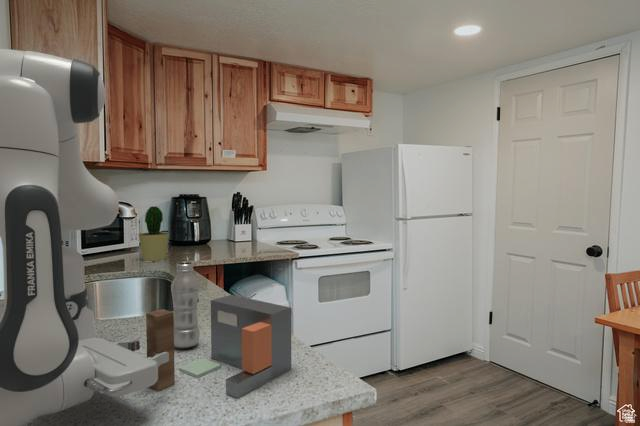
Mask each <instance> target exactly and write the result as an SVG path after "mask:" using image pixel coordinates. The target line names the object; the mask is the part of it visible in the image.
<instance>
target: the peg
mask: <svg viewBox="0 0 640 426" xmlns="http://www.w3.org/2000/svg"><path fill="white" fill-rule="evenodd" d="M145 318H146V319H145V322H146V325H145V326H146V327H145V328H146V330H145V331H146V357H147V358H148V357H151V358H152V357H154V356H155V353H157V352H160V351H165V352H168V353H169V361H168V362H166V363H164V364H161V365H160V366H159V367H158V380H157V382H156V383H155V384H154V385H152V386H150V387H149V388H150V389H152V390H155V391H156V392H161V391H163V390H165V389H167V388H170V387H173V386H174V385H175V383H176V381H175V379H176V378H175V377H176V376H175V371H176V369H175V346H174V311H171V310H166V309H164V308H163V309H158V310H154V311H150V312H146V313H145Z"/></svg>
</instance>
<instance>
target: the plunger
mask: <svg viewBox="0 0 640 426" xmlns="http://www.w3.org/2000/svg"><path fill="white" fill-rule="evenodd" d="M271 365H272V327H271V324H267V323H263V322H258V323H256V324H253V325H250V326H247V327H245V328H242V369H241V371H246V372H249V373H252V374H255V373H257V372H259V371H261V370H263V369H265V368H267V367H269V366H271Z"/></svg>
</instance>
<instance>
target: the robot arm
mask: <svg viewBox="0 0 640 426" xmlns="http://www.w3.org/2000/svg"><path fill="white" fill-rule="evenodd" d="M106 94H107V93H106V86H105V84H104V81H103V79H102V77H101V72H100V71H98V69H97V68H96V66H94V64H93V65H92V64H91V63H88V62H85V61H83V60H79V59H76V58H74V59H73V60H72V59H68V58H64V57H61V56H56V55H53V54H49V53H43V52H39V51H34V50H32V51H31V50H26V51H25V50H18V49H9V48H0V239H1V240H0V241H1V244H2V250H3V251H2V252H3V253H2V254H3V277H4V278H3V281H4V287H3V288H4V299H0V426H25V425H27V424H29V423H30V422H31V421H33V420H35V419H37V418H39V417H42V416H47V415H53V414H57V413H60V412H62V411H65V410H67V409H70V408H72V407H75V406H78V405H80V404H82V403H85V402H87V401H90V400H91V399H93V398H92V397H93V396H94V394H95V392H96V393H97V394H98V395H106V396H108V397H116V398H117V397H123V396H125V395H129V394H132V393H135V392H138V391H141V390H144V389H147V388H150V386H152V385H154V384H155V383H156V382H157V380H158V367H159V366H160V365H161V364H164V363H166V362H168V361H169V353H168V352H165V351H160V352H157V353H155V356H154V357H152V358H151V357H148V358H147V356H144V355H143V354H140V353H138V352H136V351H139V350H140V347H141V345H140V344H141V341H139V340H138V339H134V338H133V339H130V340H125V341H114V342H112V341H109V340H107V339H104V338H102V337H97V335H96V324H95V318H94V317H95V315H94V311H93V310H91V309H90V308H88V307H87V305H89V304H88V303H89V301H88V299H89V296H88V290H87V288H86V283H85V280H86V279H85V259H84V258H83V255H82V254H81V253H80V252H79V251H77V250H75V249H74V248H72V247H69V246H66V245H63V241H62V231H65V232H66V231H89V230H94V229H99V228H100V229H101V228H103V227H108V226H110V225H112V223H114V221H115V219H116V218H117V216H118V213H119V210H120V202H119V199H118V196H117V194H116V192H115V190H113V189H112V187H110V186H109V185H108V184H105V183H103V182H102V181H100V180H98V179H97V178H96V177H95V176H93V175H92V174H91V172H90V171H89V170H88V169H87V168H86V166H85V164H84V162H83V158H82V154H81V150H80V141H79V127H78V126H79V125H78V124H86V123H92V122H93V121H95V120H97V119H98V118H99V117H100V115H101V112H102V111H103V108H104V106H105V104H106V98H107V97H106V96H107V95H106Z"/></svg>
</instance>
